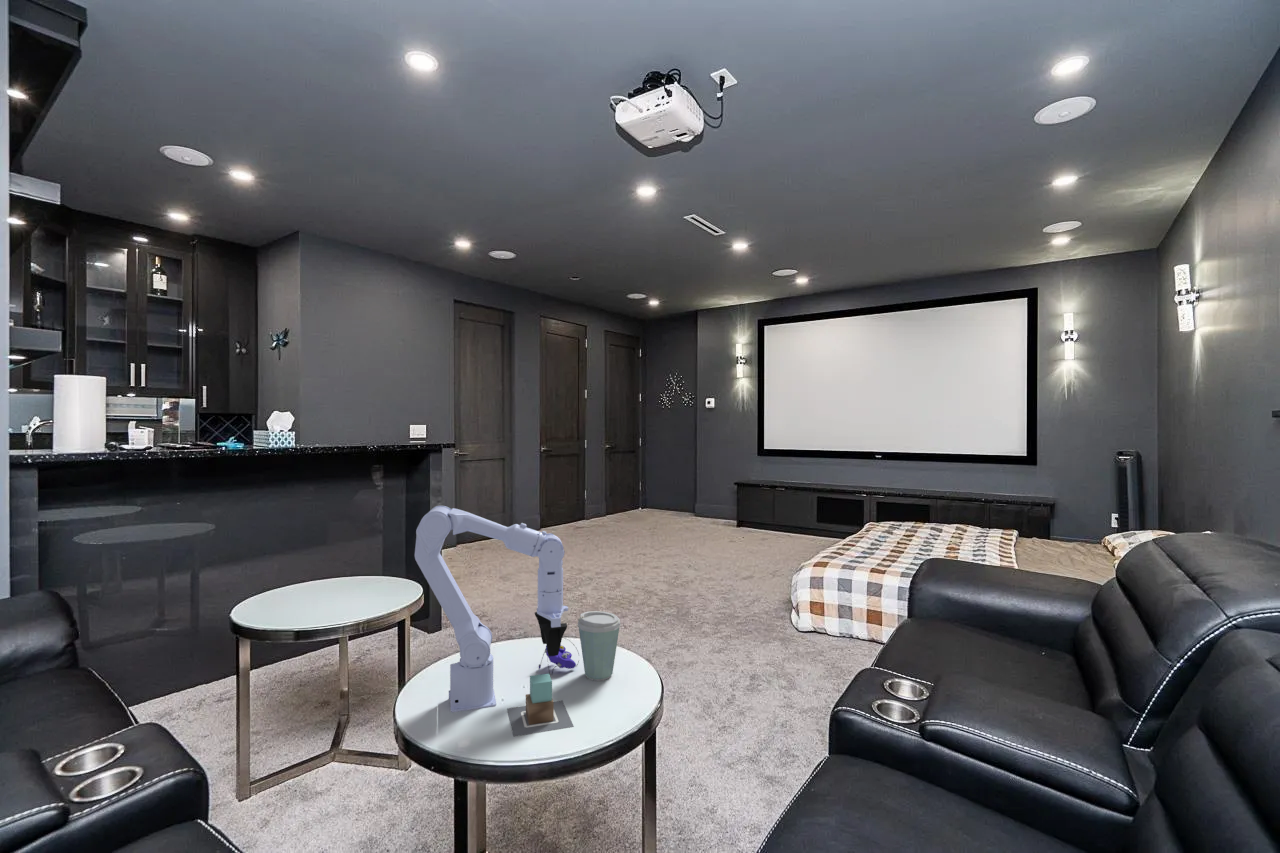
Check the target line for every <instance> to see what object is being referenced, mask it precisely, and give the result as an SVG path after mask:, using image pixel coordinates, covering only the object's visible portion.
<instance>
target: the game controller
mask: <svg viewBox="0 0 1280 853" xmlns="http://www.w3.org/2000/svg"><path fill="white" fill-rule="evenodd" d="M562 639H565V640H566V641H569V642H570V643H571V644H572V645H573V646H574V647H575V650H577V653H578V655H580V653H579V650H578V649H577V647H576V646H575V644H574V643H573V642H572V641H571V640H569V639H567V638H566V637H564V636H563V637H562ZM544 655H546V656H547V659H548V661H550V663H552V664H554V665H556V666H554V667H553V669H552V671H551V673H550V671H548V674H549V675H550V677H551V676H552V675H551V674H553V673H554V670H555V668H556V667H558V668H560V669H562V668H566V669H567V670H568V669H571V670H572V669H575V667H577V666H578V664H579V663H580V662H579V661H578V662H577V664H576V662H575V660H573V659H572V655H573V654H572V653H571V652H569V651H566V647H565V646H564V645H562V644H561V645H560V650H559V654H558V655H557V656H549V655H548V652H547V646H546V645H545V649H544V652H543V654H542V657H541V659H540V660H541V661H540V664H538V669H541V667H542V666H541V665H542V663H543V662H542V661H543V659H544ZM547 667H548V669H550V667H549V665H547ZM551 678H552V677H551Z"/></svg>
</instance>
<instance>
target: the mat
mask: <svg viewBox="0 0 1280 853" xmlns="http://www.w3.org/2000/svg"><path fill="white" fill-rule="evenodd" d="M553 701H554V721H551V722H544V723H538V724H532V725H529V723H528V720H527V716H526V705H521V706H516V707H514V706H513V707H509V708H508V707H507V708H506V710H507V715H508V720H509V725H510V728H511V732H512V737H519V736H525V735H533V734H539V733H544V732H551V731H556V730H562V729H568V728H569V729H570V728H574V724H573V721H572V719H571V717H570V715H569V712H568V710H567V707H566V705H565V704H564V701H563V699H562V700H557V701H555V700H553Z"/></svg>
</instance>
